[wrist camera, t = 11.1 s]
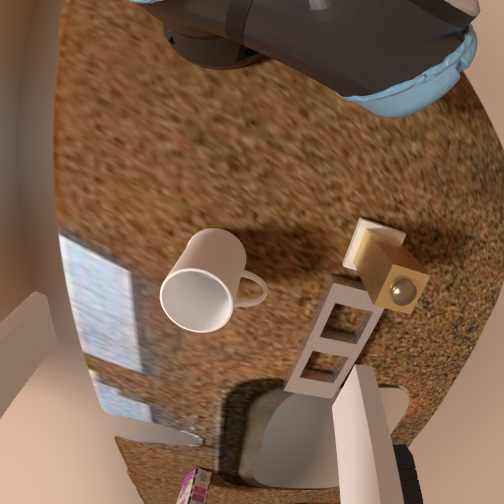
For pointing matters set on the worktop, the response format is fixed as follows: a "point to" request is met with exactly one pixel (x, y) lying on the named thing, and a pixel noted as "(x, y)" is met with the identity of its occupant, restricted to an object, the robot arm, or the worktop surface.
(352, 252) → the pad
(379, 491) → the robot arm
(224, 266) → the mug
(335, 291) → the rail plate
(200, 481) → the candy bar box
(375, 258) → the brass block
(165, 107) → the worktop surface
